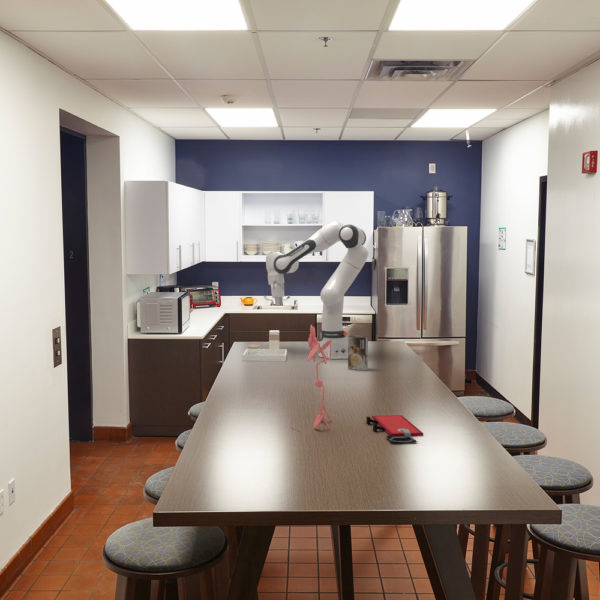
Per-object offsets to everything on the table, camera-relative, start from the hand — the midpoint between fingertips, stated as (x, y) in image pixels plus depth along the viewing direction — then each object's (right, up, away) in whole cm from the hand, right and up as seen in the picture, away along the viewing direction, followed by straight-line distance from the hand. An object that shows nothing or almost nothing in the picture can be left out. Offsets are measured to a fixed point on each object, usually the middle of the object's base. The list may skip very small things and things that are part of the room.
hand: (279, 305), depth 366 cm
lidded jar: (-13, -27, -24) cm, 38 cm away
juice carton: (-2, -27, -21) cm, 34 cm away
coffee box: (+40, -31, -42) cm, 66 cm away
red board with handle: (+43, -42, -142) cm, 154 cm away
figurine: (+15, -41, -136) cm, 143 cm away
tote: (-7, -28, -22) cm, 36 cm away
